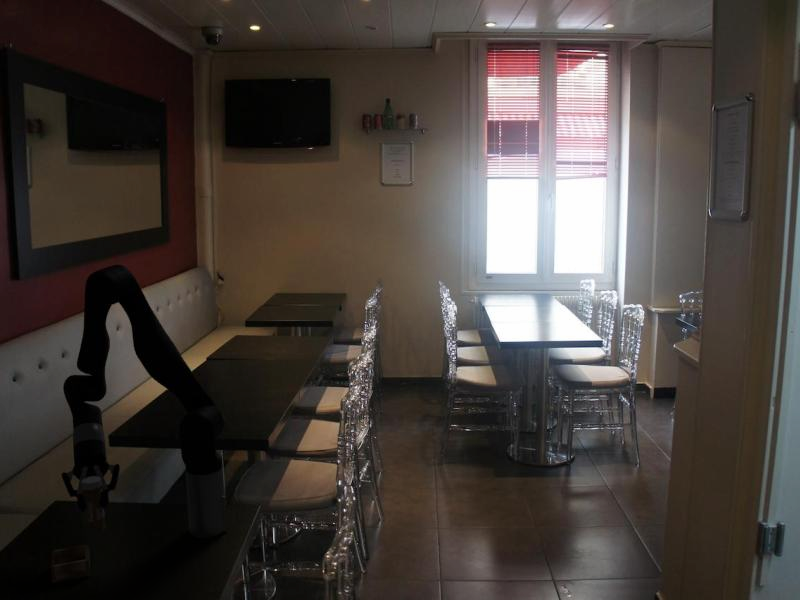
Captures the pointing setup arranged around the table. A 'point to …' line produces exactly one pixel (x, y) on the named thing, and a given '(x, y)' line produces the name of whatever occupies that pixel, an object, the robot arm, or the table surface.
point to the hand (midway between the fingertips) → (93, 508)
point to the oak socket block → (70, 563)
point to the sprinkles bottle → (93, 504)
